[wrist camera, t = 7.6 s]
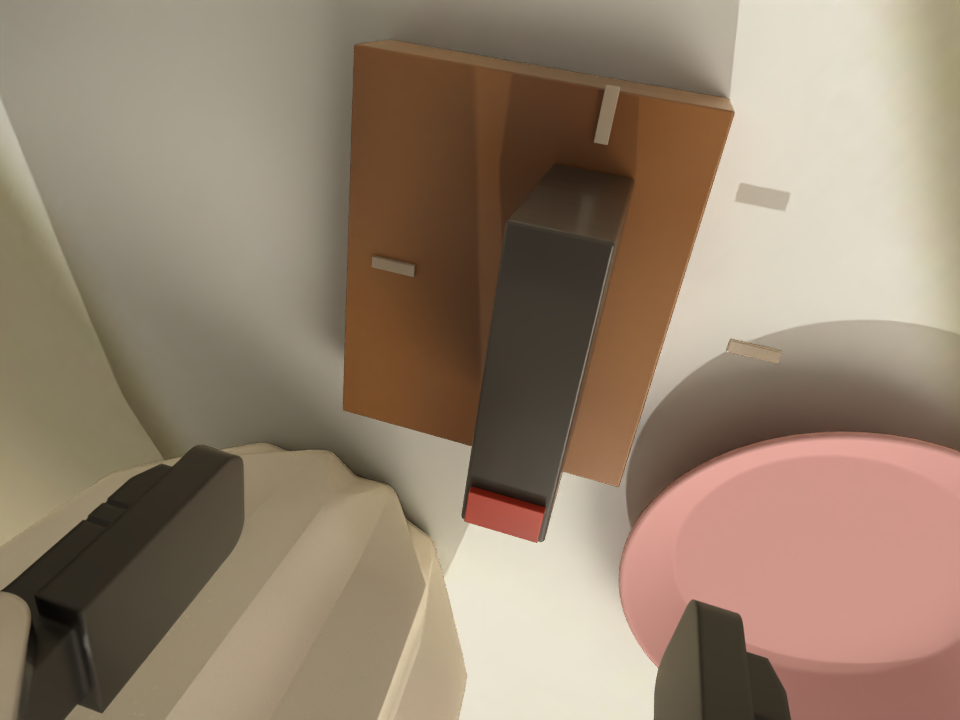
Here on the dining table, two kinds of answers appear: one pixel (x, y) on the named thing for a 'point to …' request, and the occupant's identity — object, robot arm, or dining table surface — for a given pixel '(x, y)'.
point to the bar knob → (542, 345)
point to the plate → (816, 568)
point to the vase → (293, 605)
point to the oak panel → (481, 224)
